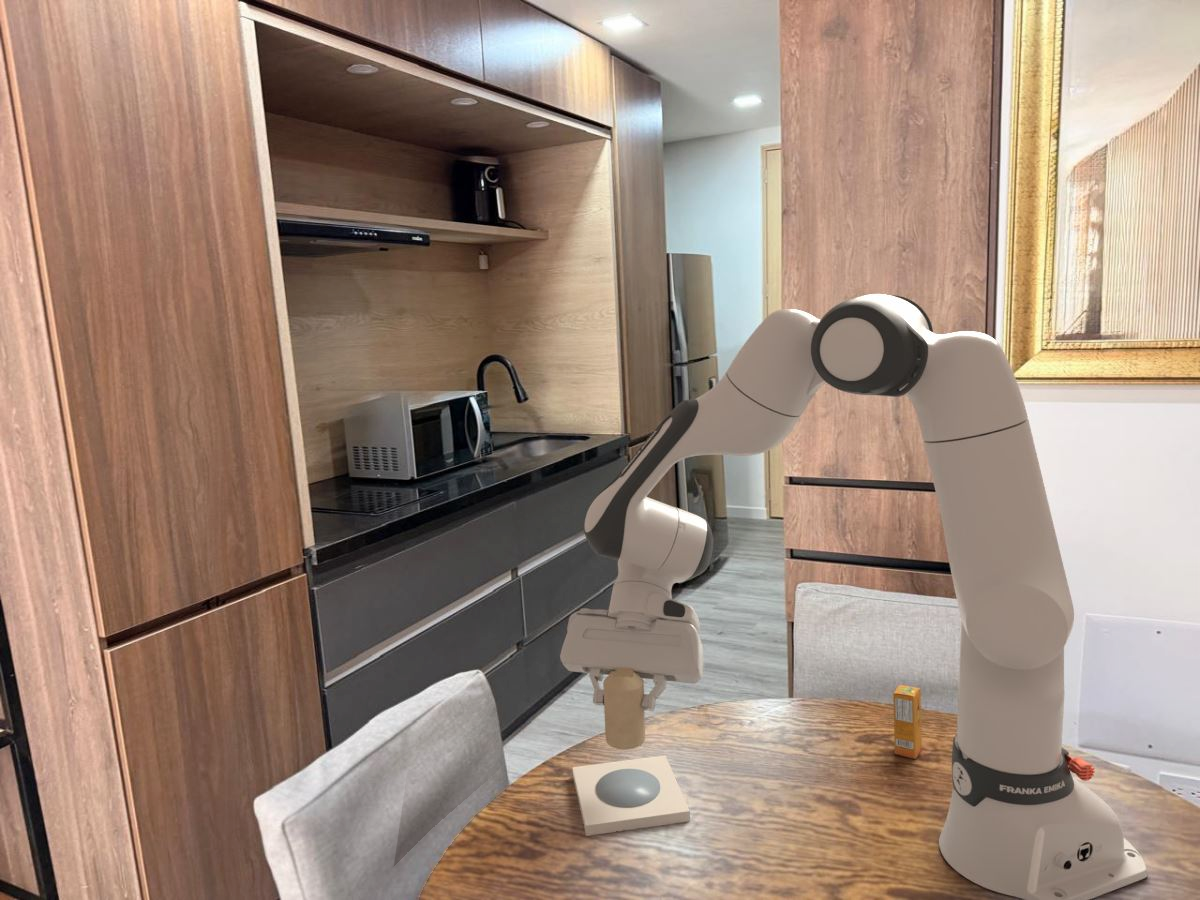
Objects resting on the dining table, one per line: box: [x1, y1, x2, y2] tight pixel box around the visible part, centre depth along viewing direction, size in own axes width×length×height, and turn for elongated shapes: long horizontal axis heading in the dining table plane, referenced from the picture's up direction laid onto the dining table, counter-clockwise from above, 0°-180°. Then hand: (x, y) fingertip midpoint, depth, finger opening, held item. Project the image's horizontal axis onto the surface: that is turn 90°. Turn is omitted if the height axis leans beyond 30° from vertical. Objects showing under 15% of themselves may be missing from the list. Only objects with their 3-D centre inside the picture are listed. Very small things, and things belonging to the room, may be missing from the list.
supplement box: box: [892, 684, 923, 760], centre depth 121 cm, size 3×3×10 cm
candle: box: [602, 668, 646, 750], centre depth 111 cm, size 6×6×10 cm
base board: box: [572, 754, 691, 837], centre depth 113 cm, size 14×14×2 cm
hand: (623, 706), depth 111 cm, fingers closed on candle, 5 cm apart
